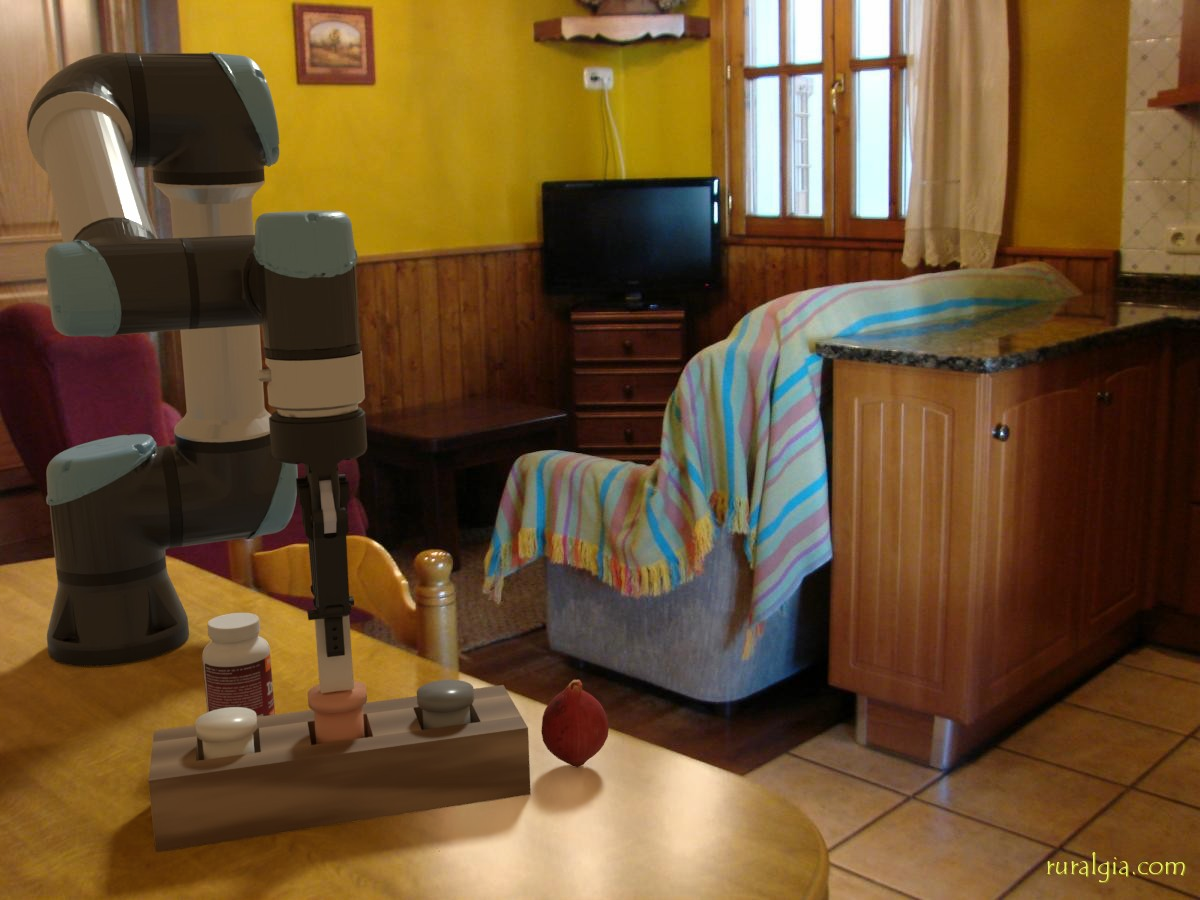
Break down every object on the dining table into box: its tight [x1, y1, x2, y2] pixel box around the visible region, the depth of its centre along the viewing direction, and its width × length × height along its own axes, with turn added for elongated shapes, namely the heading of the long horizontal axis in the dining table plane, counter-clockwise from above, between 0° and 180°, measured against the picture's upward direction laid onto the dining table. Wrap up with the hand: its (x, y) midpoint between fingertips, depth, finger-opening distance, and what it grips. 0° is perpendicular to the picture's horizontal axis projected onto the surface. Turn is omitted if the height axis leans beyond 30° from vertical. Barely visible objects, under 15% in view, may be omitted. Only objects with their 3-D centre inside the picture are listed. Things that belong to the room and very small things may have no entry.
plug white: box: [195, 707, 257, 760], centre depth 108 cm, size 5×5×8 cm
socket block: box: [147, 684, 532, 853], centre depth 111 cm, size 10×30×6 cm, turn 106°
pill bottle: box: [201, 612, 276, 717], centre depth 124 cm, size 6×6×11 cm
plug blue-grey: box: [416, 679, 475, 730], centre depth 113 cm, size 5×5×8 cm
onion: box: [540, 679, 610, 768], centre depth 115 cm, size 6×6×8 cm
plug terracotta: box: [307, 680, 368, 744], centre depth 110 cm, size 5×5×8 cm
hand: (336, 687), depth 110 cm, fingers closed
